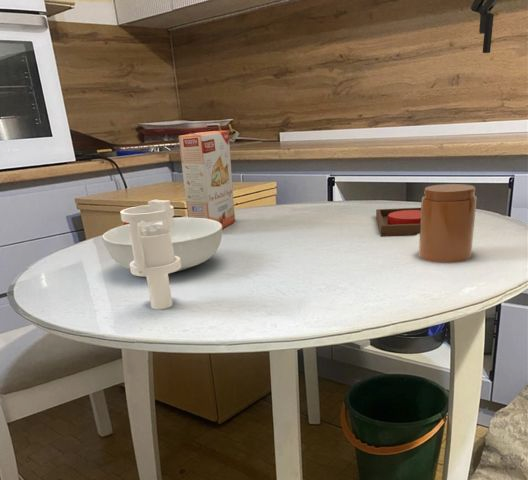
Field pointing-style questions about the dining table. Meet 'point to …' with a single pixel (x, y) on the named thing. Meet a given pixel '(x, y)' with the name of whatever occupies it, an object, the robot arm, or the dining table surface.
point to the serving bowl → (182, 237)
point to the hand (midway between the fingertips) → (524, 49)
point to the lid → (404, 217)
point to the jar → (447, 223)
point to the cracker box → (208, 176)
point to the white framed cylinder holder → (153, 248)
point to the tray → (395, 229)
